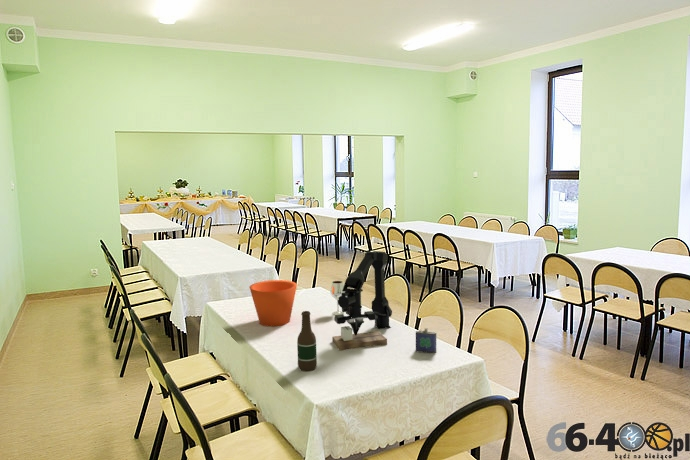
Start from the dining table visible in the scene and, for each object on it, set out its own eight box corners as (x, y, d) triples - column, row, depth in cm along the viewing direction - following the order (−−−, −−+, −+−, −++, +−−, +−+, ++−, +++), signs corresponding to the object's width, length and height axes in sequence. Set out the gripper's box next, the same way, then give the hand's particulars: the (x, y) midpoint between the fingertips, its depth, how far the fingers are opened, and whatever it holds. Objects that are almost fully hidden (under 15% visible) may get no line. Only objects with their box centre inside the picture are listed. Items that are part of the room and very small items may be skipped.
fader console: (377, 335, 248) (377, 330, 247) (387, 344, 236) (387, 338, 236) (332, 341, 241) (332, 336, 241) (339, 350, 230) (339, 344, 229)
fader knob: (349, 336, 240) (349, 325, 239) (352, 339, 235) (352, 329, 234) (341, 337, 238) (340, 326, 238) (344, 340, 234) (343, 330, 233)
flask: (436, 351, 227) (436, 328, 225) (436, 353, 224) (436, 330, 223) (416, 349, 229) (415, 326, 228) (415, 351, 227) (414, 328, 225)
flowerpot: (241, 326, 266) (240, 289, 264) (266, 312, 289) (265, 278, 287) (284, 331, 257) (282, 293, 254) (306, 317, 280) (305, 281, 277)
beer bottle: (298, 364, 215) (296, 309, 212) (316, 363, 216) (315, 308, 212) (298, 372, 207) (296, 315, 204) (317, 371, 208) (315, 314, 205)
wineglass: (343, 315, 281) (343, 284, 278) (329, 315, 282) (328, 283, 280) (346, 311, 288) (346, 280, 286) (332, 311, 290) (331, 280, 288)
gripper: (368, 296, 246) (368, 327, 248) (330, 300, 240) (331, 332, 243) (376, 302, 235) (376, 334, 237) (337, 306, 230) (338, 339, 232)
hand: (355, 335), depth 238 cm, fingers closed
